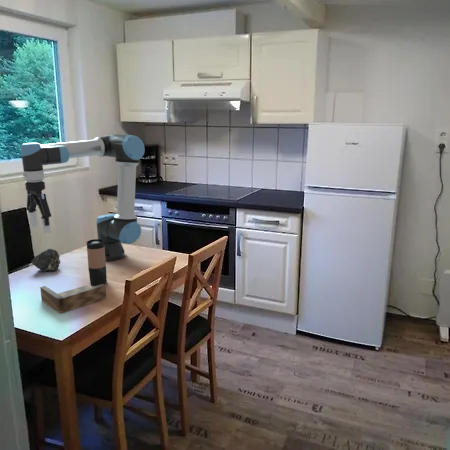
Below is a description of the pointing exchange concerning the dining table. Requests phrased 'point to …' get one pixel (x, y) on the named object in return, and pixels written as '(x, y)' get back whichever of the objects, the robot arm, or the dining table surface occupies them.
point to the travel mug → (96, 262)
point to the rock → (47, 260)
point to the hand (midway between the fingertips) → (40, 229)
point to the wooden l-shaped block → (73, 297)
